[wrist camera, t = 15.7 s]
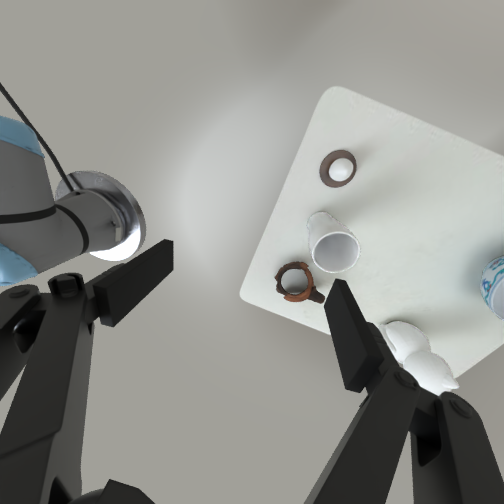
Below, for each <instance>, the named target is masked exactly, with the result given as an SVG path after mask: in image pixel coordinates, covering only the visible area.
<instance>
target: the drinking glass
mask: <svg viewBox="0 0 504 504" xmlns="http://www.w3.org/2000/svg"><path fill="white" fill-rule="evenodd" d="M307 228H308V240H309V249H310V253H311V256H312V259H313V261H314V263H315V264H316V266H317V267H318V268H320V269H321V270H323V271H326V272H330V273H339V272H343V271H346V270H348V269H349V268H351V267H352V266H353V265H354V264H355V263H356V262H357V261H358V259H359V257H360V253H361V248H360V244H359V242H358V240H357V239H356V237H355V236H354V235H353V233H352V232H351V231H350V230H349V229H348V228H347V227H346V226H344V225H343V224H341V223H340V222H339V221H337V220H336V219H334V218H333V217H332V216H331V215H330V214H328V213H326V212H318V213H315V214H313V215H312V216H311V217H310V218H309V220H308V223H307Z"/></svg>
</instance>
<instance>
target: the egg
mask: <svg viewBox="0 0 504 504" xmlns="http://www.w3.org/2000/svg"><path fill="white" fill-rule="evenodd" d="M352 171H353V164H352V162H351V161H350V160H348V159H345V158H340V159H337V160H335V161H334V162H333V163H332V165H331V166H330V169H329V175H330V177H331V178H332V179H333V180H335V181H344V180H346V179H347V178H348V177H349V176H350V175H351V174H352Z"/></svg>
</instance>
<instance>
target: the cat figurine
mask: <svg viewBox="0 0 504 504" xmlns="http://www.w3.org/2000/svg"><path fill="white" fill-rule="evenodd" d="M379 330H380V332H381V334H382V335H383V337H384V339H385V341H386V343H387V345H388V346H389V348H390V350H391V352H392V354H393V355H394V357H395V359H396V360H397V361H399V362H401V363H403V365H404V369H405V370H406V371H408V372H409V373H410V374H411V375H413V376H414V378H415V379H416V380H417V381H418V383H419V385H420V387H422V388H424V389H426V390H428V391H430V392H432V393H434V394H436V395H438V396H439V395H440V394H441V393H442V392H444V391H448V392H450V391H451V390H452V389H458V388H459V385H458V383H457V381H456V380H455V379H454V377H453V373H452V371H451V369H450V367H449V365H448V364H447V362H446V361H445V360H444V359H443V358H441V357H440V356H439V355H437V354H434V353H431V346H430V343H429V340H428V339H427V337H426V335H425V334H424V333H423V332H422V331H421V330H420V329H418V328H417V327H415V326H413V325H411V324H408V323H405V322H401V321H394V322H391V323H389V324H382V325H380V327H379Z"/></svg>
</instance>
